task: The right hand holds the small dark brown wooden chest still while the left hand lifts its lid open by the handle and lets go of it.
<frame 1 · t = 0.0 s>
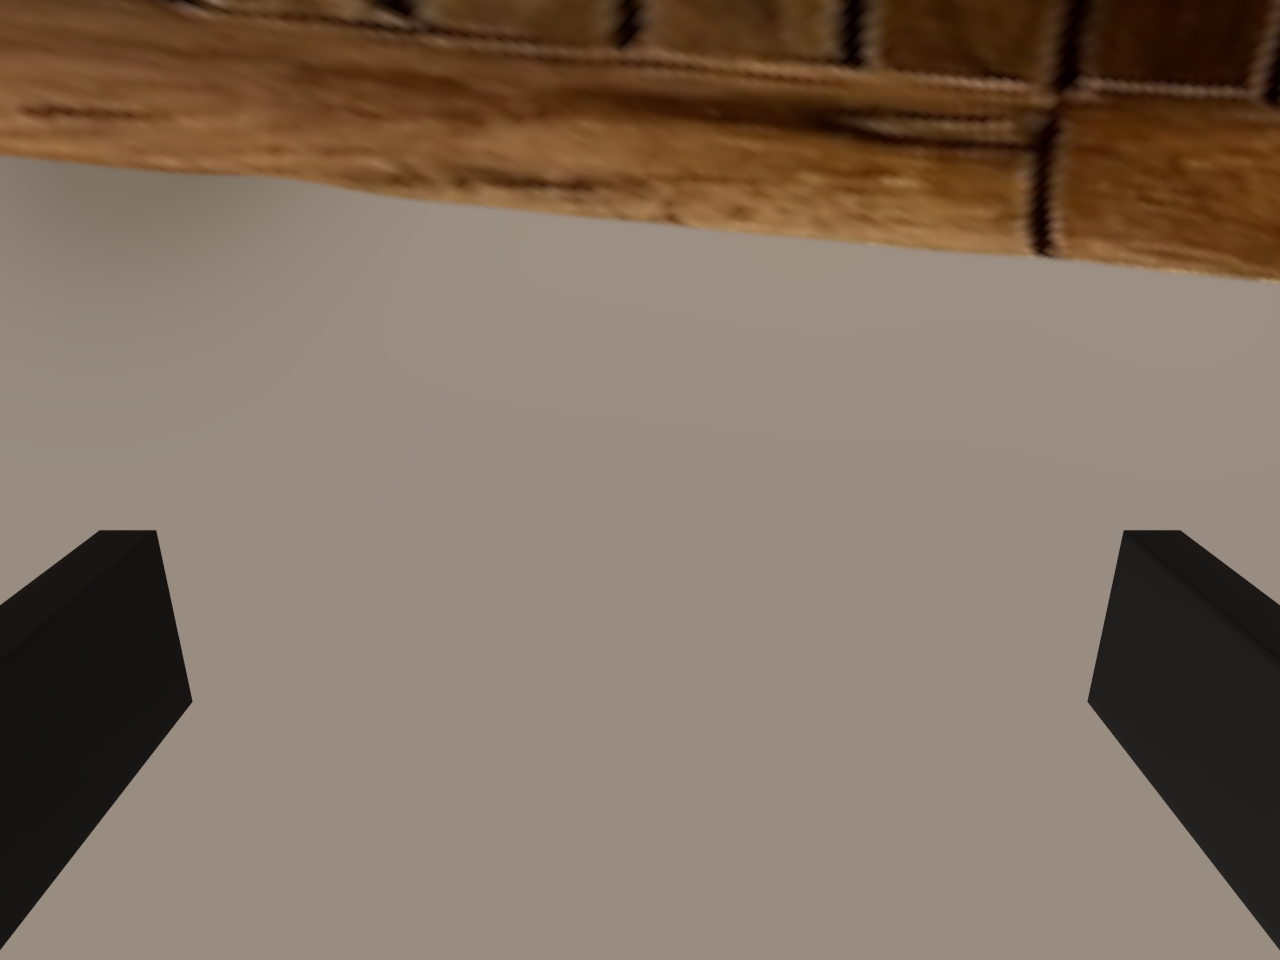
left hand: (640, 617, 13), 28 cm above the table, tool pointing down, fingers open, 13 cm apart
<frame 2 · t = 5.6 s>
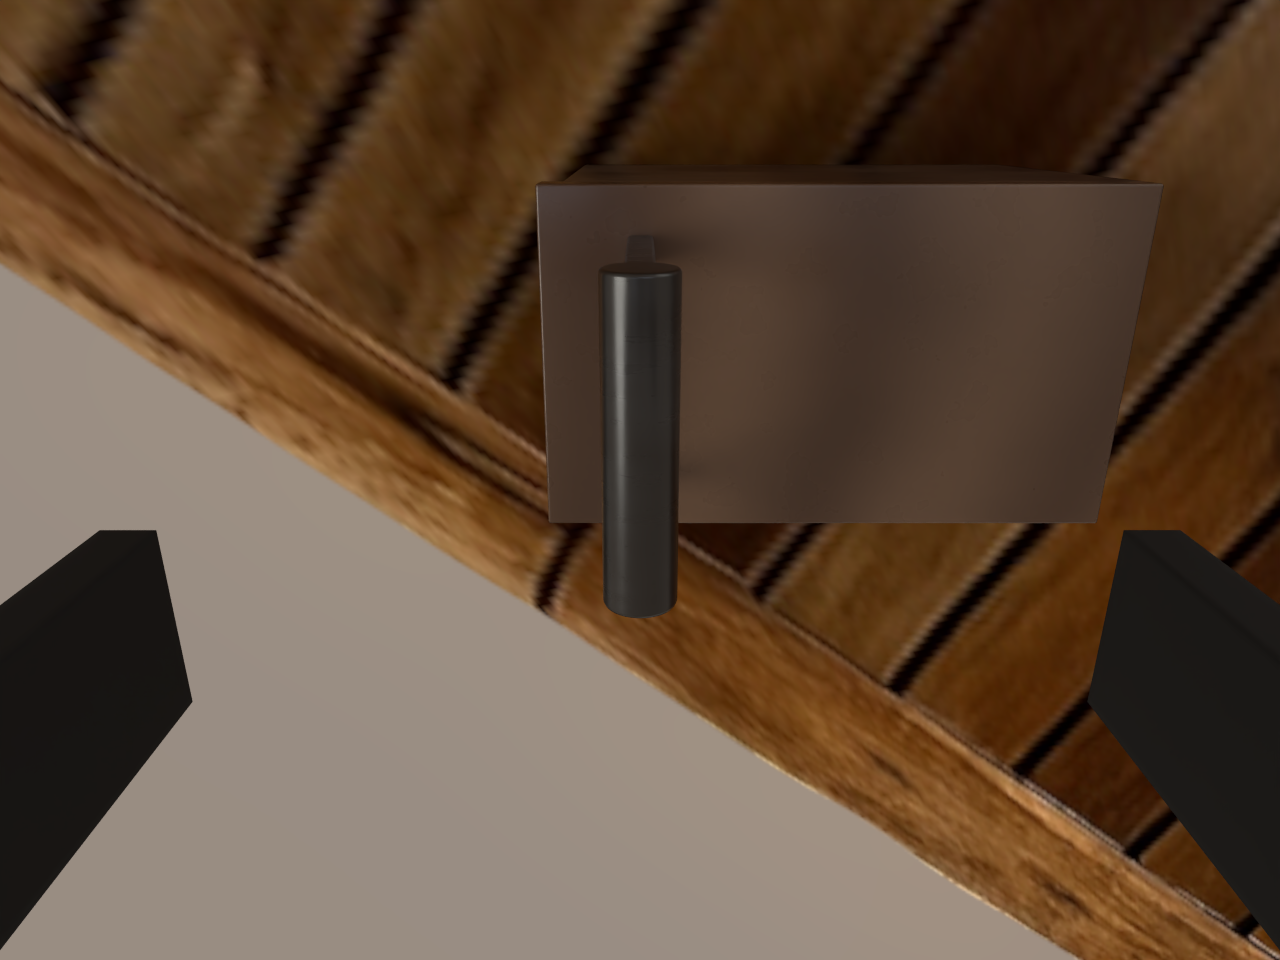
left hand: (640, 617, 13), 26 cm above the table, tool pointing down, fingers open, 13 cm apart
lid: (862, 398, 23), point 15 cm above the table, hinge at 0.0°
chest: (784, 292, 37), on the table
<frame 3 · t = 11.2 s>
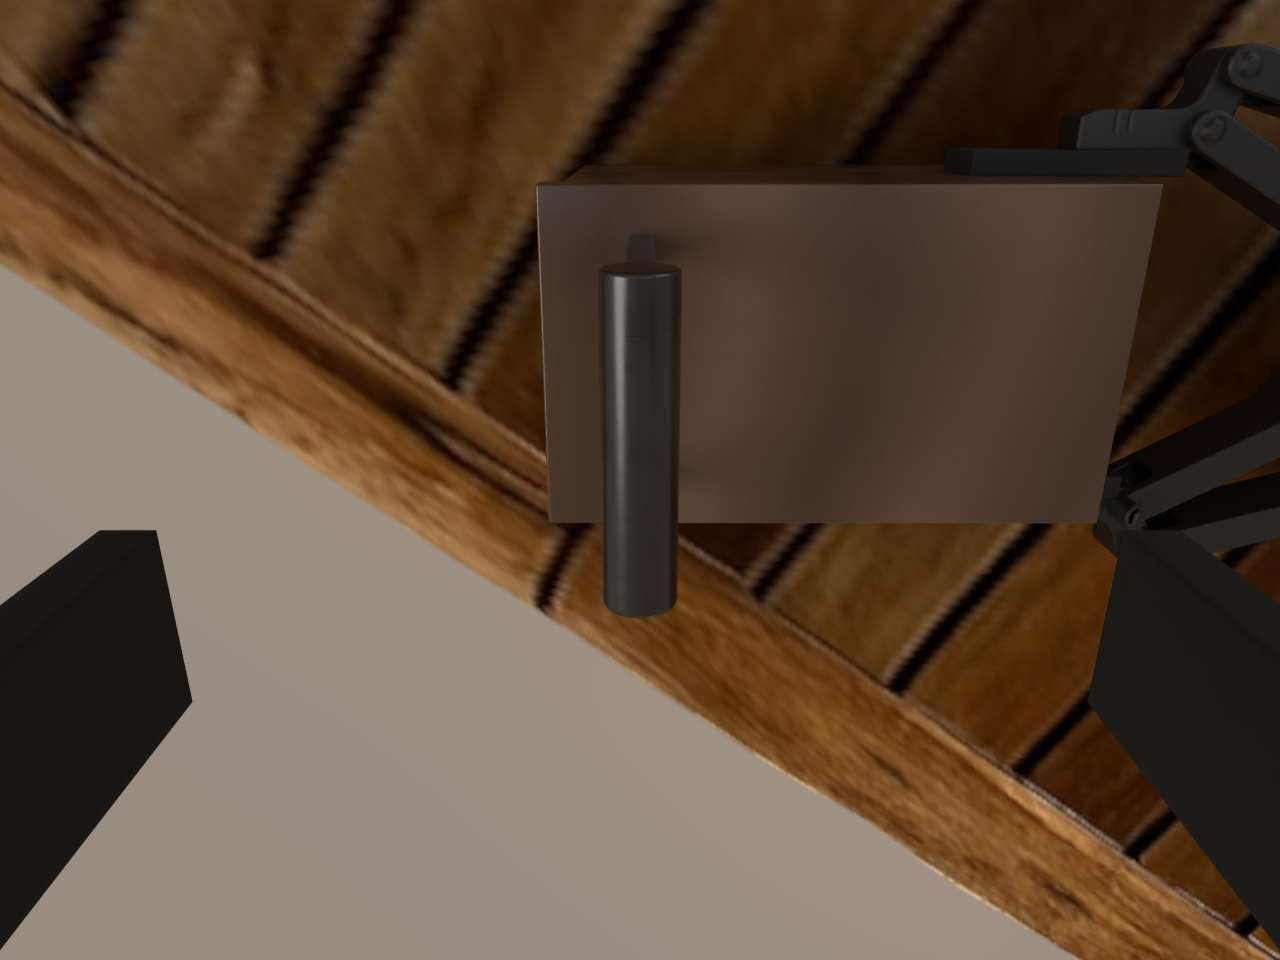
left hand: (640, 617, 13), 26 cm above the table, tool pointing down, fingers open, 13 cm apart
lid: (862, 398, 23), point 15 cm above the table, hinge at 0.0°
chest: (784, 292, 37), on the table, touching right hand
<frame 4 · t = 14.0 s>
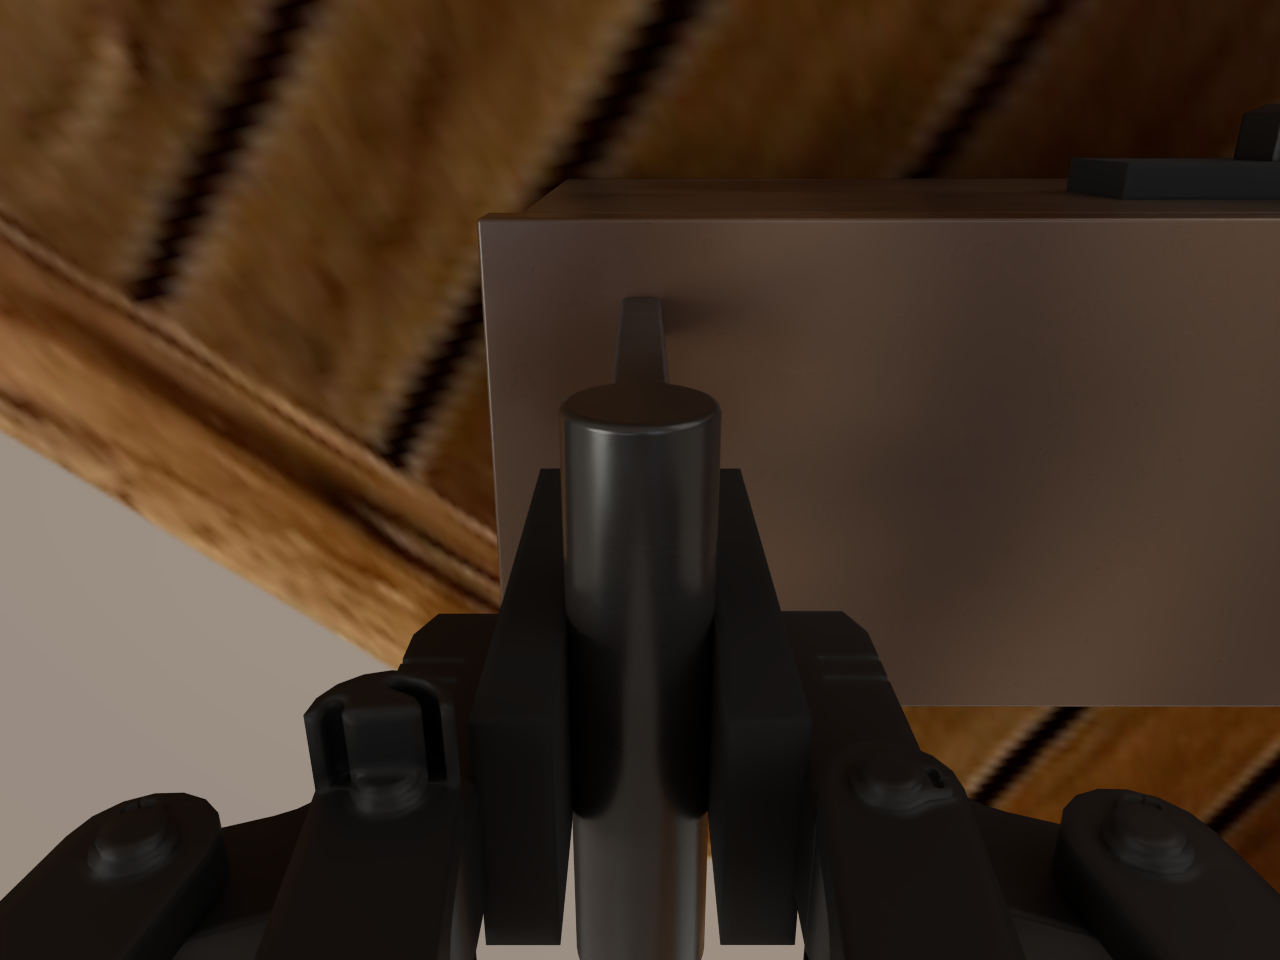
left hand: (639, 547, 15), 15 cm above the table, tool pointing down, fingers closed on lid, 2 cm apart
lid: (1000, 569, 14), point 15 cm above the table, hinge at -0.1°, touching left hand
chest: (829, 344, 28), on the table, touching right hand
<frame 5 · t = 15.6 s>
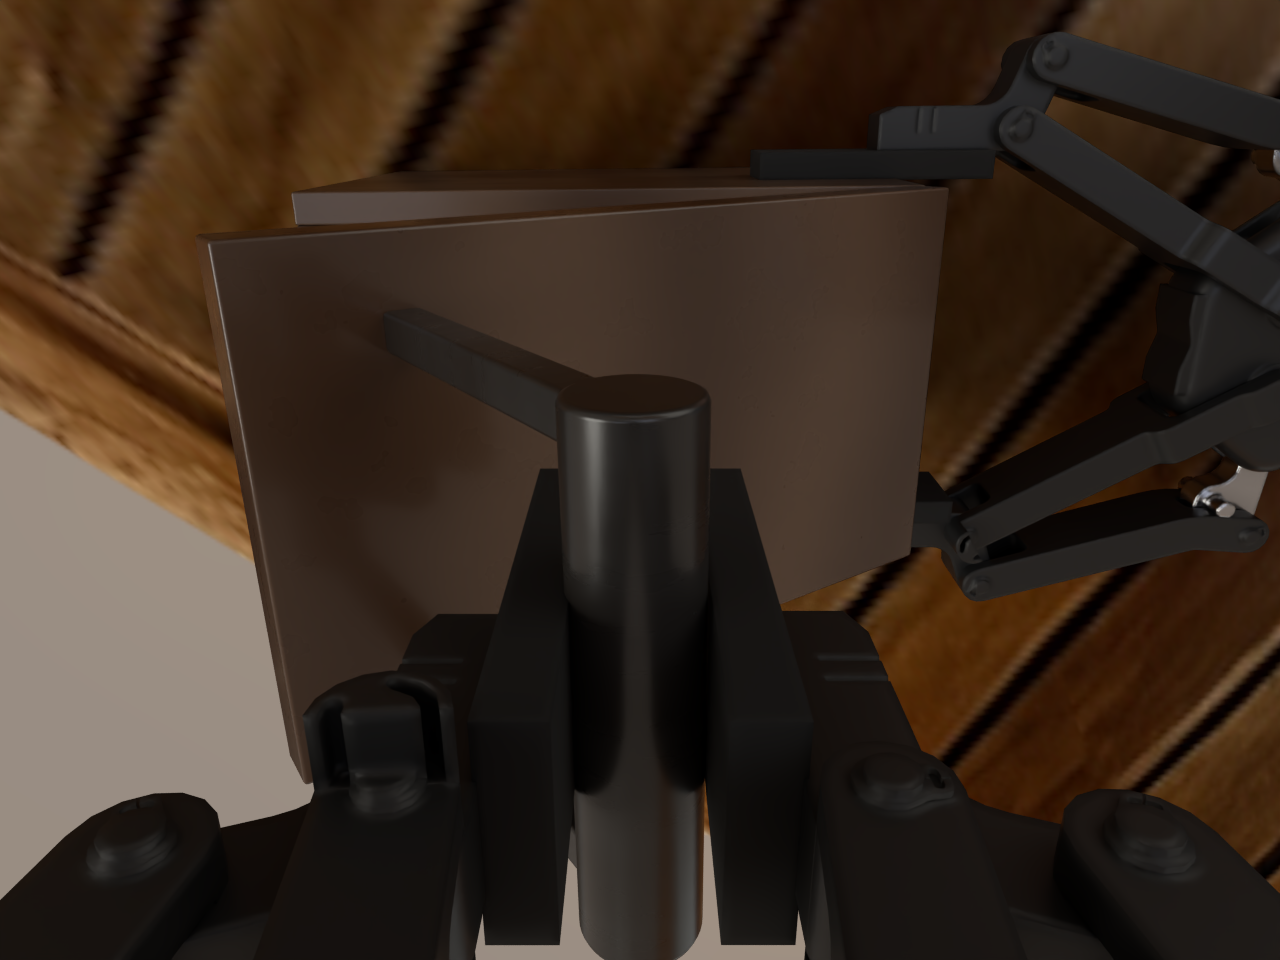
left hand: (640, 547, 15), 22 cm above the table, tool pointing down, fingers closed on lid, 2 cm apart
right hand: (749, 342, 29), fingers closed on chest, 10 cm apart
lid: (777, 496, 17), point 19 cm above the table, hinge at 34.8°, touching left hand
chest: (621, 304, 35), on the table, touching right hand
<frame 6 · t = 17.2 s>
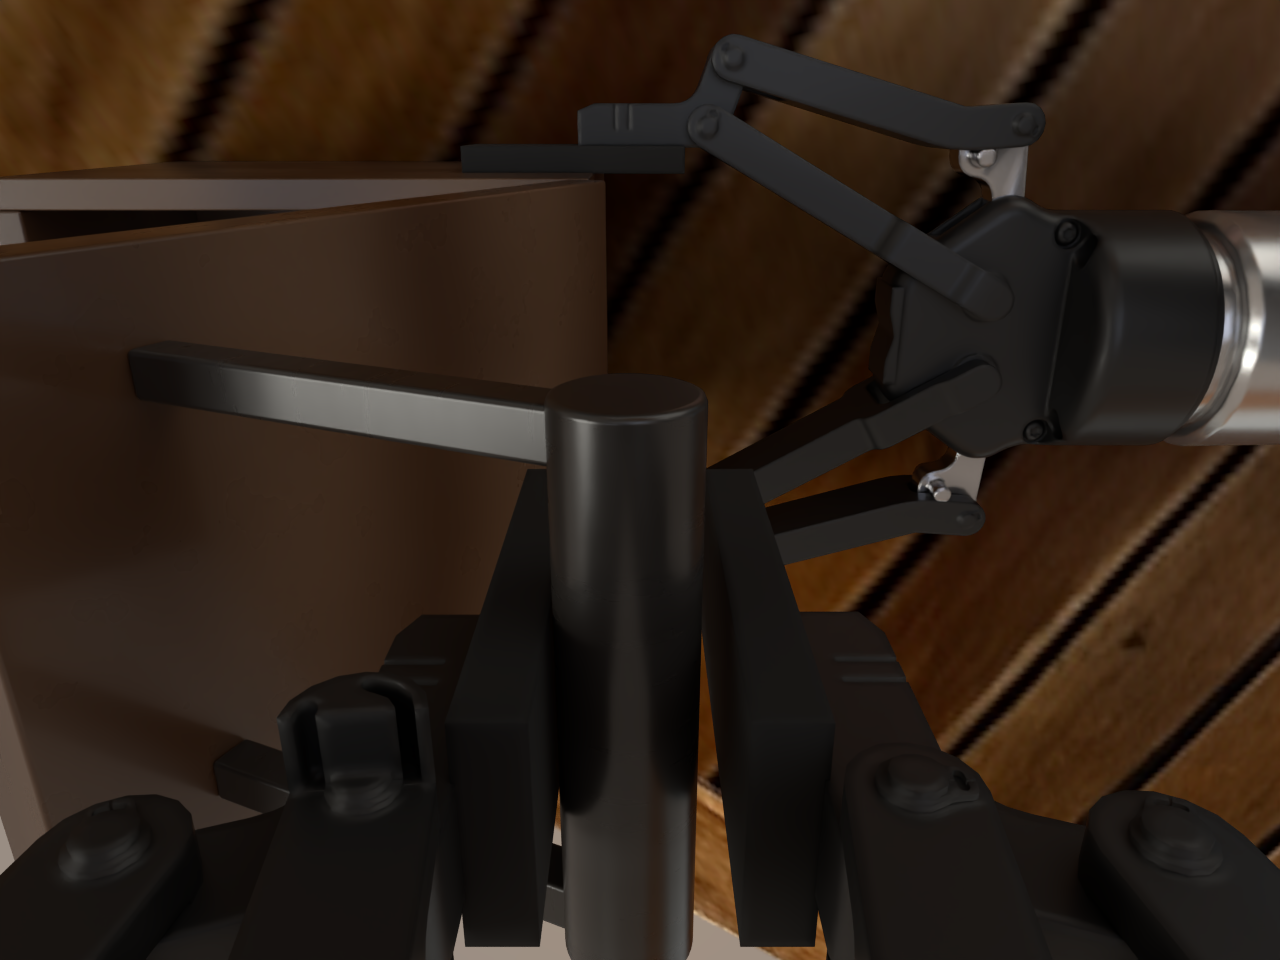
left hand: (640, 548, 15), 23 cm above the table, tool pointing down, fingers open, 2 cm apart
right hand: (480, 329, 30), fingers closed on chest, 10 cm apart
lid: (576, 490, 17), point 21 cm above the table, hinge at 66.0°
chest: (402, 293, 36), on the table, touching right hand
when the right hand's fingers open (7 cm above the table, at t = 21.2 s): chest stays where it is, on the table.
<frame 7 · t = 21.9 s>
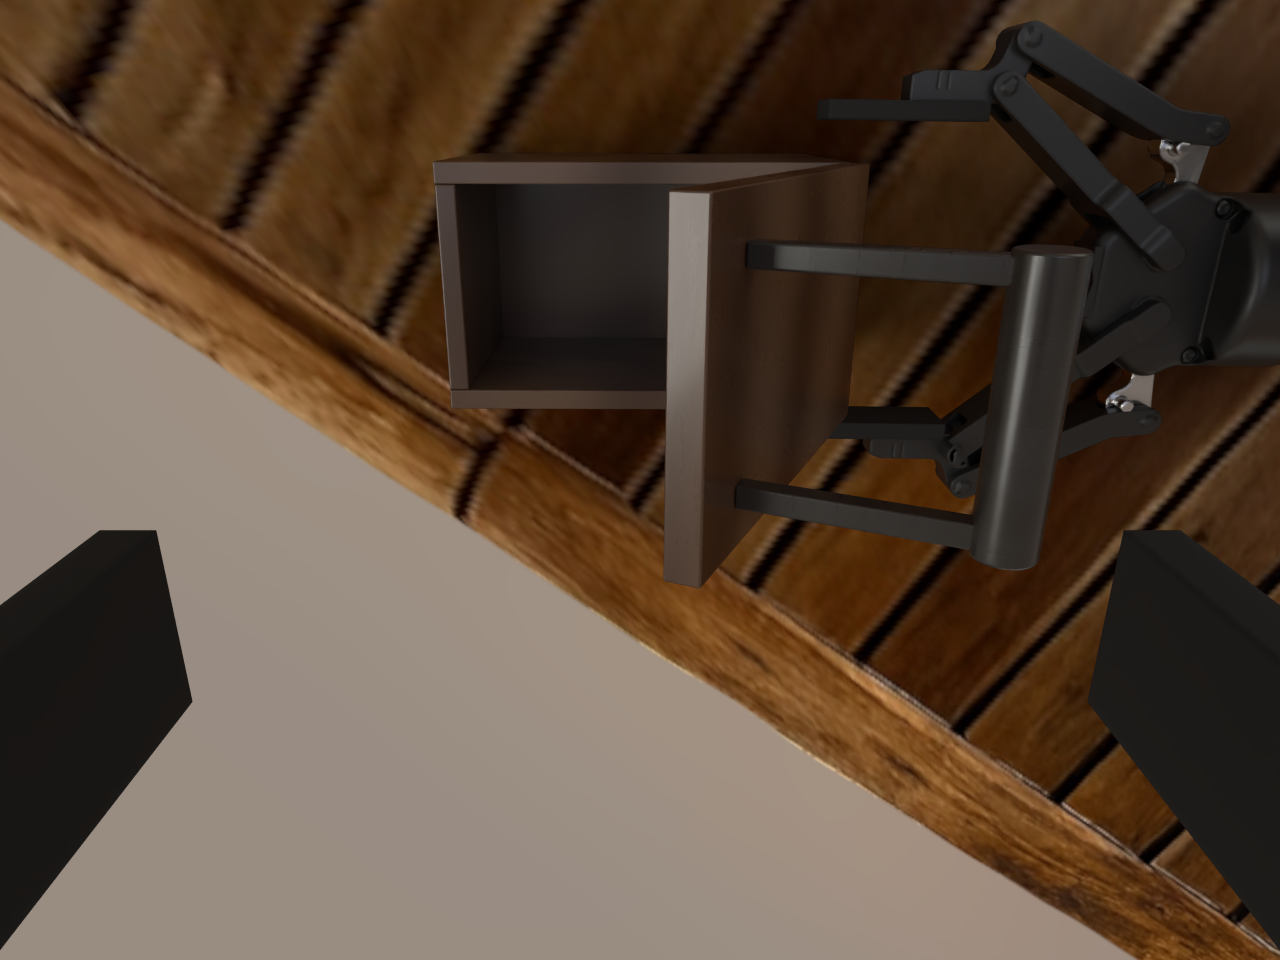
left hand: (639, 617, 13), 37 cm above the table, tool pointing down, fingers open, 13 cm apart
right hand: (808, 275, 40), fingers open, 13 cm apart
lid: (909, 348, 27), point 21 cm above the table, hinge at 65.2°
chest: (641, 255, 47), on the table
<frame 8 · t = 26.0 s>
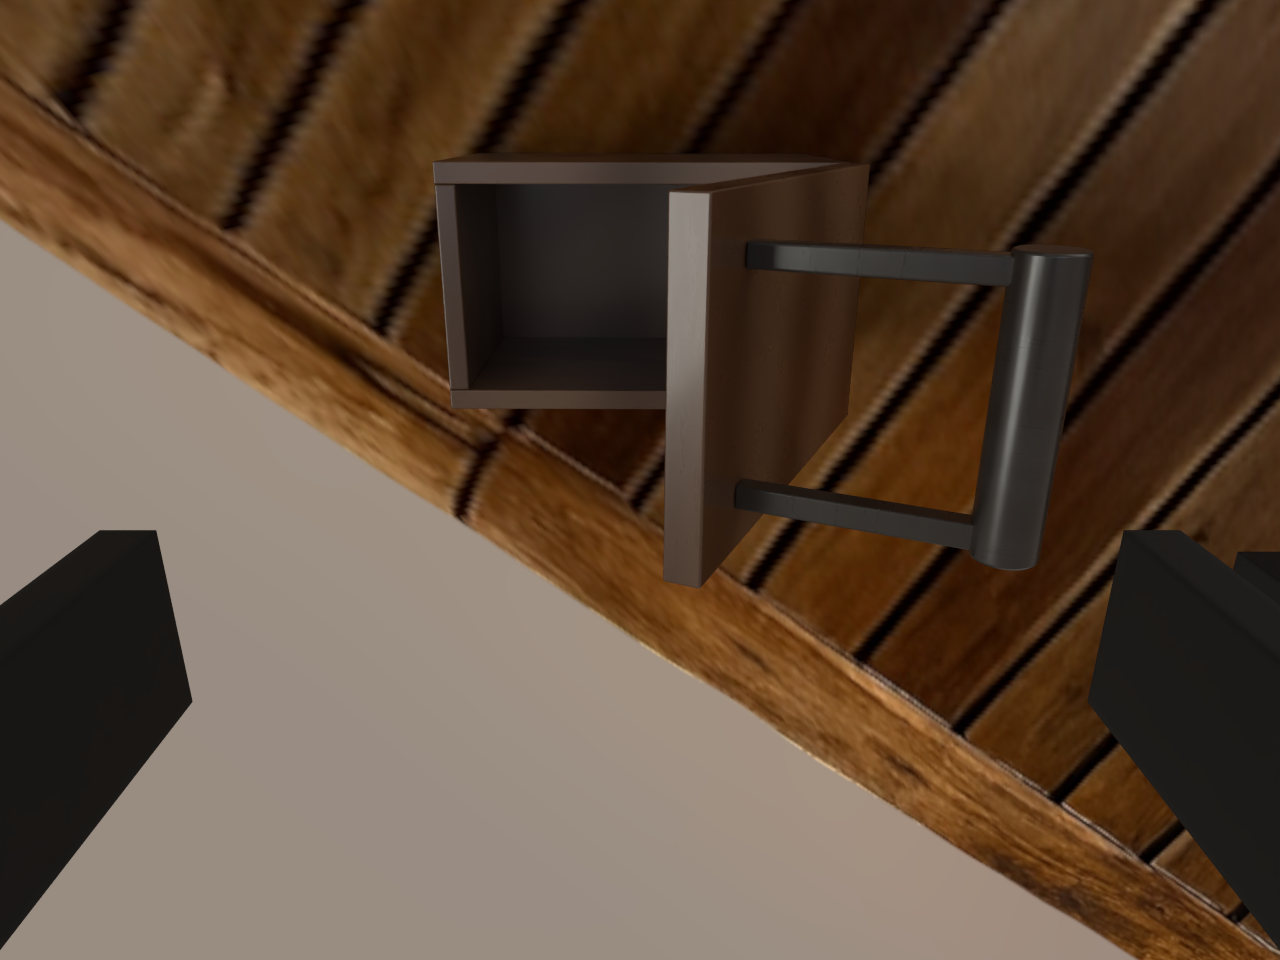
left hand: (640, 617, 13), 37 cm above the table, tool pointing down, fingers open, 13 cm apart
lid: (909, 348, 27), point 21 cm above the table, hinge at 65.2°
chest: (641, 255, 47), on the table
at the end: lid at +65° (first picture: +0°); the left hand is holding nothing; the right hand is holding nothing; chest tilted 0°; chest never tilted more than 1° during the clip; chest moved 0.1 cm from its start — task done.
